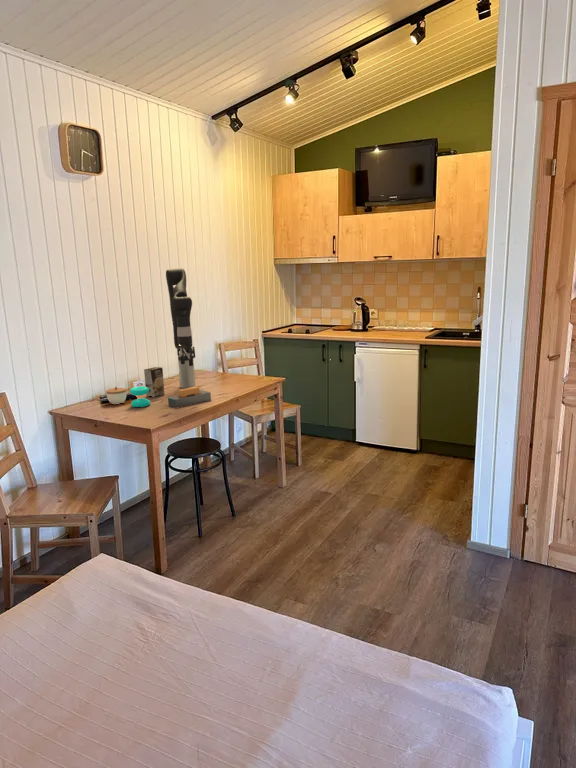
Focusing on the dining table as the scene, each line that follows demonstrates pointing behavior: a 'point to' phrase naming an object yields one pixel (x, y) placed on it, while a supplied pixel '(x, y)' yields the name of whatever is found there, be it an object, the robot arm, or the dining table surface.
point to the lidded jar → (116, 395)
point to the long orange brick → (188, 391)
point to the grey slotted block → (189, 399)
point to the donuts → (142, 401)
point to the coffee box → (154, 381)
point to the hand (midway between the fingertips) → (187, 365)
